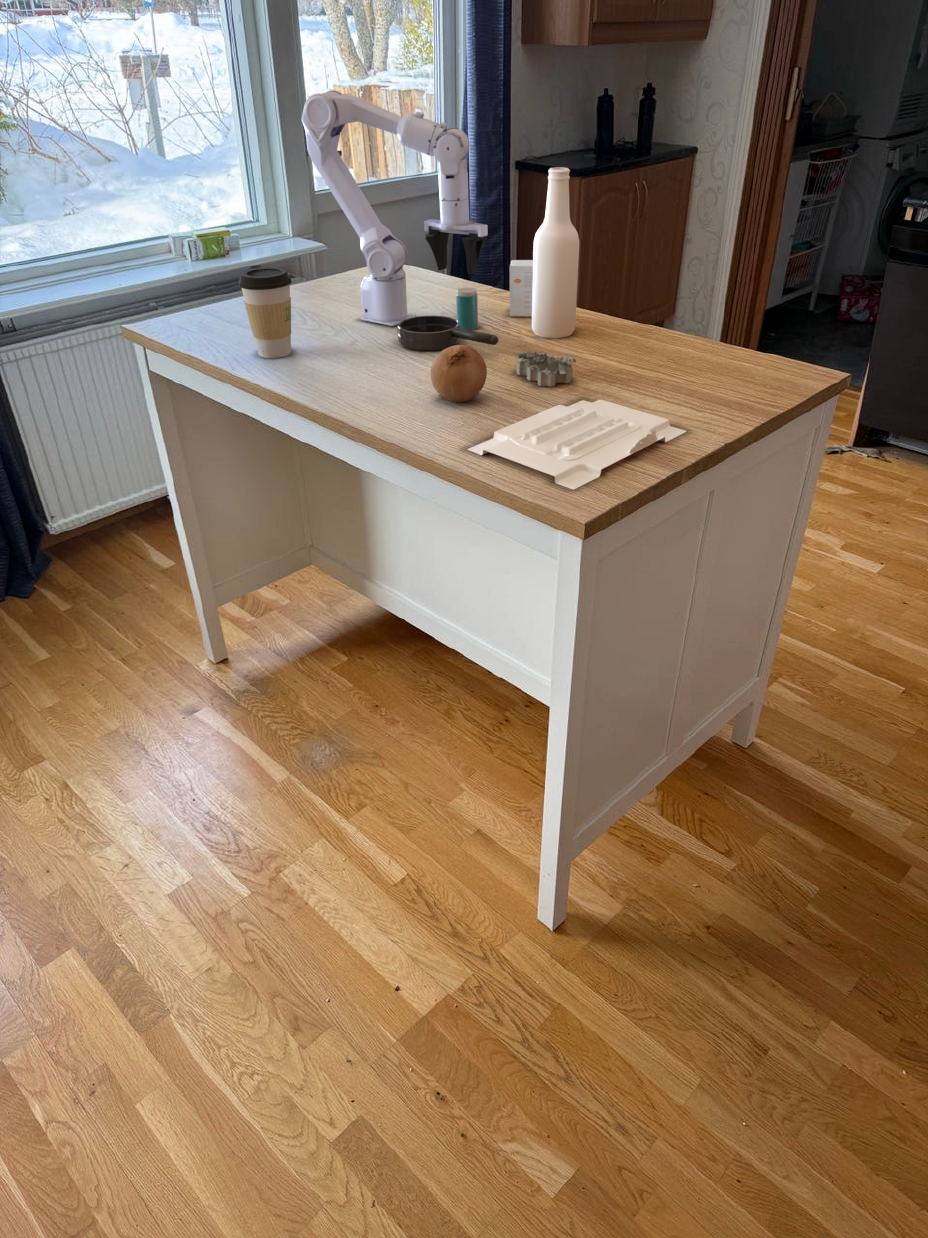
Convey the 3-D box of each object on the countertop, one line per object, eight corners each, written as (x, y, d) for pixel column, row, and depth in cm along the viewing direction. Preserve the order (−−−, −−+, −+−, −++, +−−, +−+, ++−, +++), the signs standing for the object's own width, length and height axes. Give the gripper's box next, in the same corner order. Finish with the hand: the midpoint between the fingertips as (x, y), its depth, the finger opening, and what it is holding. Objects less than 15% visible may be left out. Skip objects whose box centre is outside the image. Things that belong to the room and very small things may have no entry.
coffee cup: (310, 348, 176) (300, 268, 168) (281, 363, 169) (270, 280, 160) (268, 343, 180) (257, 264, 171) (238, 357, 172) (225, 276, 164)
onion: (465, 423, 150) (465, 380, 141) (420, 399, 153) (417, 355, 144) (497, 388, 154) (499, 344, 145) (452, 365, 156) (451, 321, 148)
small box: (547, 310, 196) (548, 259, 190) (546, 317, 191) (548, 265, 185) (510, 309, 197) (510, 259, 191) (508, 316, 192) (509, 265, 186)
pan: (386, 344, 177) (385, 326, 175) (425, 329, 185) (424, 312, 183) (434, 355, 171) (433, 336, 169) (472, 339, 179) (472, 321, 177)
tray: (465, 449, 133) (465, 425, 131) (581, 405, 150) (583, 383, 148) (574, 490, 121) (576, 464, 119) (686, 437, 138) (690, 414, 136)
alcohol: (569, 340, 177) (577, 172, 161) (526, 336, 180) (529, 171, 163) (579, 327, 184) (587, 165, 167) (537, 324, 187) (542, 164, 170)
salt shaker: (452, 328, 186) (451, 290, 182) (465, 322, 189) (464, 286, 185) (469, 331, 184) (469, 293, 179) (482, 326, 187) (481, 288, 182)
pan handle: (448, 337, 173) (448, 327, 172) (454, 334, 175) (453, 325, 174) (494, 346, 168) (494, 337, 167) (500, 344, 169) (500, 334, 168)
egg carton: (577, 382, 157) (579, 359, 155) (540, 389, 154) (541, 366, 152) (546, 365, 165) (547, 342, 163) (510, 371, 162) (511, 349, 160)
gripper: (412, 199, 177) (417, 271, 184) (471, 204, 169) (474, 279, 177) (434, 193, 182) (438, 264, 189) (493, 198, 174) (494, 271, 182)
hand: (457, 271), depth 183 cm, fingers open, 7 cm apart
